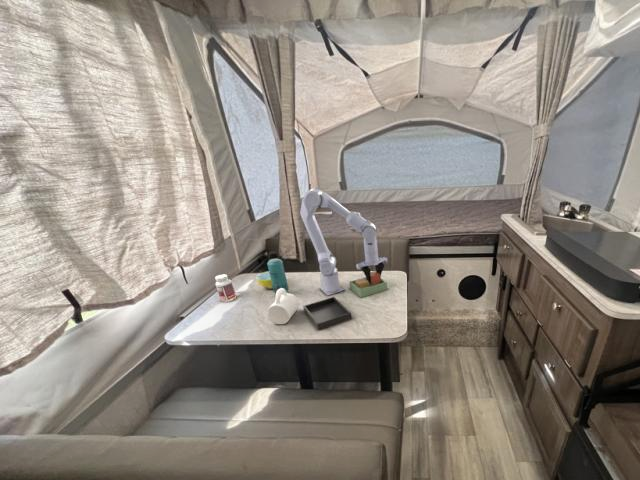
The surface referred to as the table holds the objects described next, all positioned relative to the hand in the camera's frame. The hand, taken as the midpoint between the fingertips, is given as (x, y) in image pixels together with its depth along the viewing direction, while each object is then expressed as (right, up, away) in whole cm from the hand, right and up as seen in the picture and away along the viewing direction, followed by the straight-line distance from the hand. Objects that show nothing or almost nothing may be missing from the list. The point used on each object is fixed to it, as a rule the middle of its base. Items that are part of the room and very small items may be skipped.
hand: (373, 280), depth 141 cm
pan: (-17, -15, -19) cm, 29 cm away
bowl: (-49, -3, +8) cm, 50 cm away
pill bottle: (-65, -9, -2) cm, 65 cm away
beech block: (-5, -4, -1) cm, 7 cm away
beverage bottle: (-41, -7, -1) cm, 42 cm away
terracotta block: (0, -1, 0) cm, 1 cm away
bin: (-2, -4, 0) cm, 5 cm away
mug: (-33, -16, -19) cm, 41 cm away
